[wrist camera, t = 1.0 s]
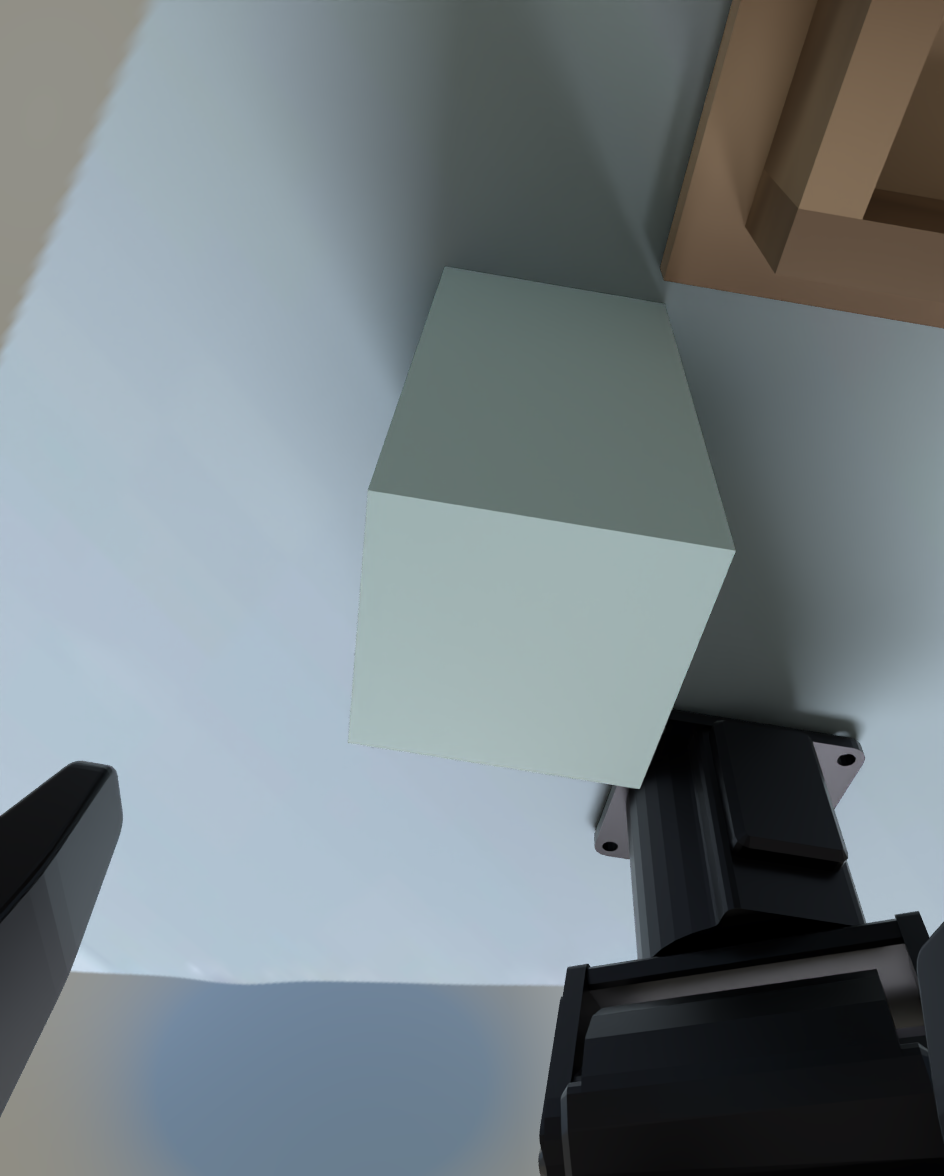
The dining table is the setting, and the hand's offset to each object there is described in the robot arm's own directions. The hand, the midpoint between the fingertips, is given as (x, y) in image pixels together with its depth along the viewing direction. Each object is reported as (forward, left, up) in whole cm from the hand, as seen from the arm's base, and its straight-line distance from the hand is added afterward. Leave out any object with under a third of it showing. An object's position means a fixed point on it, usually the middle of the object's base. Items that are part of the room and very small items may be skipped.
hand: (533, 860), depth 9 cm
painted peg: (0, 0, -12) cm, 12 cm away
